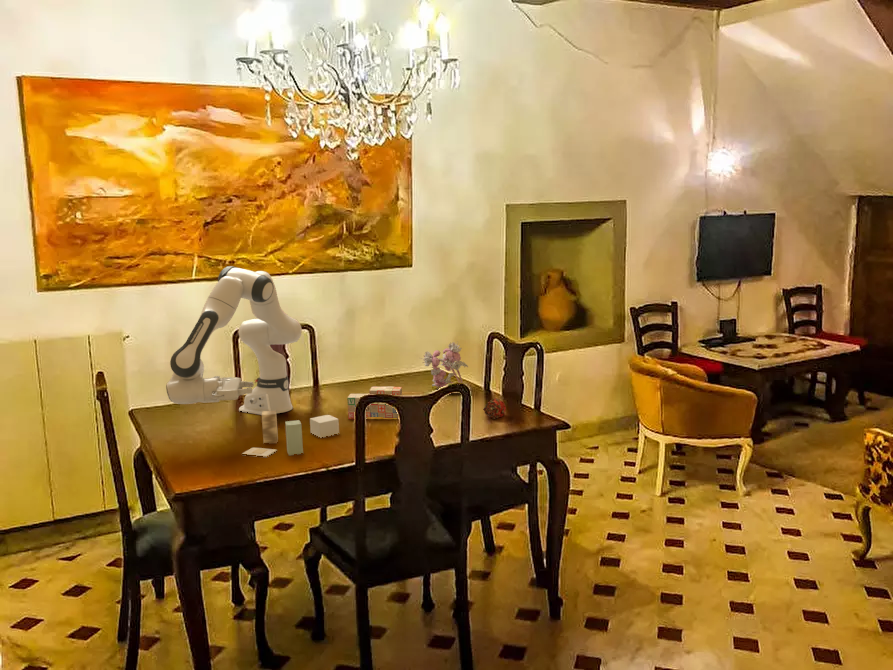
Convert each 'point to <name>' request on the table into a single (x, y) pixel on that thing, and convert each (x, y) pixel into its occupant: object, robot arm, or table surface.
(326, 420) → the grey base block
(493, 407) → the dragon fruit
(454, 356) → the flower
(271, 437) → the birch block
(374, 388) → the stack of blocks
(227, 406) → the table surface
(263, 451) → the card
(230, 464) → the table surface
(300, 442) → the sage block
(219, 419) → the table surface
